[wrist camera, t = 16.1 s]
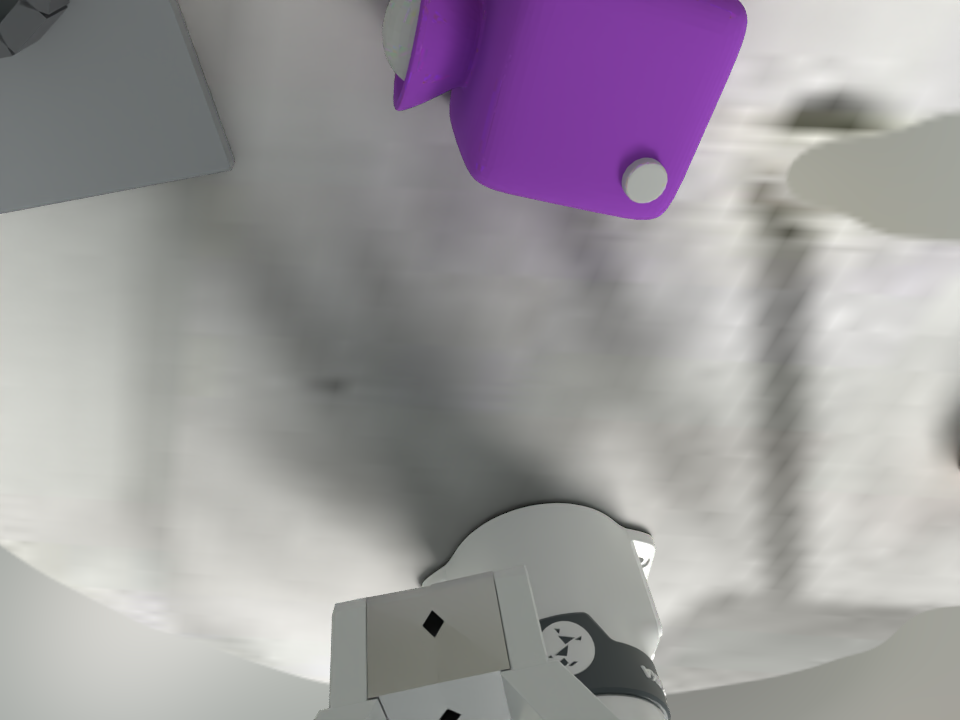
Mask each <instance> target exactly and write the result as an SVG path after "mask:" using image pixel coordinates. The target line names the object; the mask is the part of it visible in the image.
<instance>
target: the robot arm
mask: <svg viewBox="0 0 960 720" xmlns="http://www.w3.org/2000/svg"><path fill="white" fill-rule="evenodd" d="M655 551H656V548H655V544H654V541H653V538H652V536H650V535H649V534H647V533H644V532H640V531H636V530H632V529H627V528H624V527H622V526H620V525H619V524H617V523H616V522H615V521H613V520H612V519H611V518H610V517H608V516H607V515H605V514H603V513H601V512H599V511H597V510H595V509H592V508H589V507H585V506H581V505H575V504H566V503H549V504H539V505H533V506H528V507H523V508H520V509H516V510H513V511H510V512H507V513H505V514H502V515H500V516H498V517H496V518H494V519H492V520H490V521H488V522H487V523H485V524H483V525H482V526H480V527H479V528H477V529H476V530H475V531H473V532H472V533H471V534H470V535H469V536H468V537H467V538H466V539H465V540H464V541H463V542H462V543H461V544H460V546H459V547H458V548H457V550H456V551H455V553H454V554H453V556H452V558H451V559H450V560H449V562H448V563H447V564H446V565H445V566H443V567H442V568H440V569H439V570H438V571H436V572H435V573H433V574H432V575H431V576H429V577H428V578H427V579H426V580H425V581H424V582H423V584H422V587H421V588H415V589H410V590H405V591H399V592H394V593H389V594H383V595H378V596H373V597H366V598H361V599H356V600H351V601H347V602H342V603H337V604H335V607H334V610H333V614H332V634H331V664H330V694H329V708H328V709H324V710H320V711H319V712H318V714H317V716H316V717H315V719H314V720H671V716H670V711H669V708H668V705H667V702H666V701H667V699H666V693H665V690H664V687H663V685H662V682H661V680H660V679H659V677H658V675H657V672H656V669H655V666H654V664H653V662H652V660H653V659H654V655H655V650H656V648H657V646H658V642H659V640H660V636H661V635H662V626H661V622H660V619H659V616H658V613H657V610H656V607H655V604H654V601H653V598H652V595H651V592H650V589H649V586H648V583H647V579H648V575H649V572H650V569H651V565H652V562H653V559H654V555H655Z"/></svg>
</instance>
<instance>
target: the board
mask: <svg viewBox="0 0 960 720" xmlns="http://www.w3.org/2000/svg"><path fill="white" fill-rule="evenodd" d="M18 2H19V0H0V21H2V20H3V19H4V18H5V17H6V16H7V14H8V13H9V12H10V11H11V10H12V9H13V7H14V6H15V5H16V4H17V3H18ZM66 6H67V7H68V8H67V9H66V10H65V11H64V12H63V13H62V15H61V16H60V17H59V18H58V19H57V20H56V21H55V22H54V24H53V25H52V26H51V27H50V28H49V29H48V30H47V31H46V33H45V34H44V35H43V36H42V37H41V38H40V39H39V40H38V41H37V42H35V43H33V44H32V45H30V46H28V47H27V48H25V49H24V50H22V51H20V52H19V53H17V54H15V55H13V56H11V57H5V58H0V214H2V213H8V212H13V211H18V210H24V209H29V208H34V207H39V206H45V205H50V204H55V203H61V202H66V201H71V200H76V199H82V198H87V197H92V196H98V195H103V194H108V193H113V192H119V191H124V190H129V189H135V188H140V187H145V186H150V185H156V184H161V183H166V182H172V181H177V180H182V179H187V178H193V177H198V176H203V175H209V174H214V173H219V172H224V171H230V170H232V168H233V165H234V162H235V160H234V157H233V155H232V152H231V149H230V146H229V143H228V141H227V138H226V135H225V132H224V130H223V127H222V124H221V121H220V118H219V116H218V113H217V110H216V107H215V105H214V102H213V99H212V96H211V94H210V91H209V88H208V85H207V82H206V80H205V77H204V74H203V71H202V69H201V66H200V63H199V60H198V57H197V55H196V52H195V49H194V46H193V44H192V41H191V38H190V35H189V32H188V30H187V27H186V24H185V21H184V19H183V16H182V13H181V10H180V7H179V5H178V2H177V0H70V3H69V4H67V5H66Z"/></svg>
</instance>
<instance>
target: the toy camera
mask: <svg viewBox="0 0 960 720" xmlns="http://www.w3.org/2000/svg"><path fill="white" fill-rule="evenodd" d="M746 27H747V14H746V10H745V8H744V6H743V5H742V4H741V2H740V1H739V0H390V2H389V4H388V7H387V9H386V13H385V17H384V21H383V30H382V37H383V47H384V51H385V55H386V57H387V59H388V62H389V64H390V66H391V68H392V69H393V70H394V71H395V80H394V107H395V109H396V110H398V111H401V110H405V109H408V108H412V107H414V106H417V105H419V104H421V103H424V102H426V101H428V100H430V99H432V98H434V97H437V96H439V95H441V94H443V93H445V92H447V91H449V90H452V91H451V98H450V120H451V124H452V128H453V132H454V135H455V138H456V142H457V145H458V147H459V150H460V153H461V155H462V158H463V160H464V163H465V165H466V167H467V169H468V171H469V172H470V174H471V175H472V177H473V178H474V179H475V180H476V181H478V182H479V183H480V184H482V185H484V186H486V187H488V188H491V189H494V190H497V191H501V192H504V193H508V194H512V195H517V196H521V197H526V198H531V199H535V200H540V201H545V202H549V203H554V204H559V205H563V206H568V207H573V208H578V209H582V210H587V211H592V212H596V213H602V214H607V215H612V216H617V217H622V218H629V219H636V220H649V219H653V218H656V217H659V216H660V215H661V214H663V213H664V212H665V211H666V209H667V208H668V207H669V205H670V204H671V202H672V200H673V199H674V197H675V195H676V193H677V191H678V189H679V187H680V185H681V183H682V181H683V179H684V177H685V174H686V172H687V170H688V168H689V165H690V163H691V161H692V159H693V156H694V154H695V152H696V150H697V147H698V145H699V143H700V140H701V138H702V136H703V134H704V131H705V129H706V127H707V125H708V122H709V120H710V118H711V116H712V113H713V111H714V109H715V107H716V104H717V102H718V100H719V98H720V95H721V93H722V91H723V88H724V86H725V84H726V82H727V79H728V77H729V75H730V72H731V70H732V68H733V65H734V63H735V61H736V58H737V56H738V53H739V50H740V48H741V45H742V42H743V39H744V36H745V32H746Z"/></svg>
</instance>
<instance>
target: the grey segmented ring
mask: <svg viewBox="0 0 960 720" xmlns="http://www.w3.org/2000/svg"><path fill="white" fill-rule="evenodd" d="M69 3H70V0H19V2H18V3H17V4H16V5H15V6H14V7H13V9H12V10H11V11H10V12H9V13H8V14H7V16H6V17H5V18H4V19H3V20H2V21H0V58H5V57H11V56H13V55H15V54H17V53H19V52H20V51H22V50H24V49H25V48H27V47H28V46H30V45H32V44H33V43H35V42H37V41H38V40H39V39H40V38H41V37H42V36H43V35H44V34H45V33H46V31H47V30H48V29H49V28H50V27H51V26H52V25H53V24H54V22H55V21H56V20H57V19H58V18H59V17H60V16H61V15H62V13H63V12H64V11H65V10H66V9H67V8H68V7H67V6H66V5H67V4H69Z"/></svg>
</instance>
